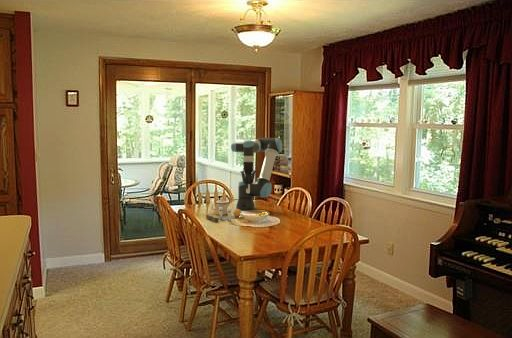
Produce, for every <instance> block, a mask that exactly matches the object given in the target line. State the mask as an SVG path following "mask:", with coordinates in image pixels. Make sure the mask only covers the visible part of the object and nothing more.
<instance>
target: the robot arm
mask: <svg viewBox="0 0 512 338" xmlns="http://www.w3.org/2000/svg"><path fill="white" fill-rule="evenodd" d="M230 149H231V151H232V152H233V153H243V162H242V163H243V164H242V167H243V169H242V170H240V174H241V178H242V180H240V181H239V182H238V186H237V188H238V190H237V191H238V193H237V194H238V200H237V201H236V202H237V203H236V205H235V206H236V207H235V208H236V209H239V210H241V211H252V210H255V209H256V206H255V205H256V204H255V202H254V198H253V197H257V198H258V197H259V198H268V197H270V195H271V194H272V189H273V185H272V182H271V181H270V179H271V176H272V173H273V168H274V164H275V160H276V158H277V156H278V155H279V153H282V152H283V141H282V139H281V138H278V137H277V138H276V137H260V138H256V139H255V138H254V139H252V140H244V141H238V142H237V141H235V142H234V141H233V142H232V143H231V145H230ZM258 152H263V153H264V154H265V155H264V159H263V163H262V166H261V170H260V173H259V177H257V178H256V180H255V175H256V173H257V170H255V168H254V164H255V163H254V158H255V156H254V153H258ZM254 180H255V181H254ZM251 209H252V210H251Z"/></svg>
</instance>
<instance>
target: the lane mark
mask: <svg viewBox="0 0 512 338" xmlns="http://www.w3.org/2000/svg"><path fill="white" fill-rule="evenodd" d="M234 219H235V220H236V219H240V218H239V217H235V216H234V215H231V220H234ZM218 220H221V221H228V216H223V219H219V217H218Z"/></svg>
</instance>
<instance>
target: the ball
mask: <svg viewBox="0 0 512 338" xmlns="http://www.w3.org/2000/svg"><path fill="white" fill-rule="evenodd" d="M240 213H241V214H242V210H239V209H234V210H233V216H235V217H239V216H240Z"/></svg>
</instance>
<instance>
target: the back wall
mask: <svg viewBox="0 0 512 338" xmlns="http://www.w3.org/2000/svg"><path fill="white" fill-rule="evenodd" d="M205 216H206V220H209V221H211V222H213V223H219V219H218V218H219V216H214V215H211V214H209V213H208V214H206V215H205Z"/></svg>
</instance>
